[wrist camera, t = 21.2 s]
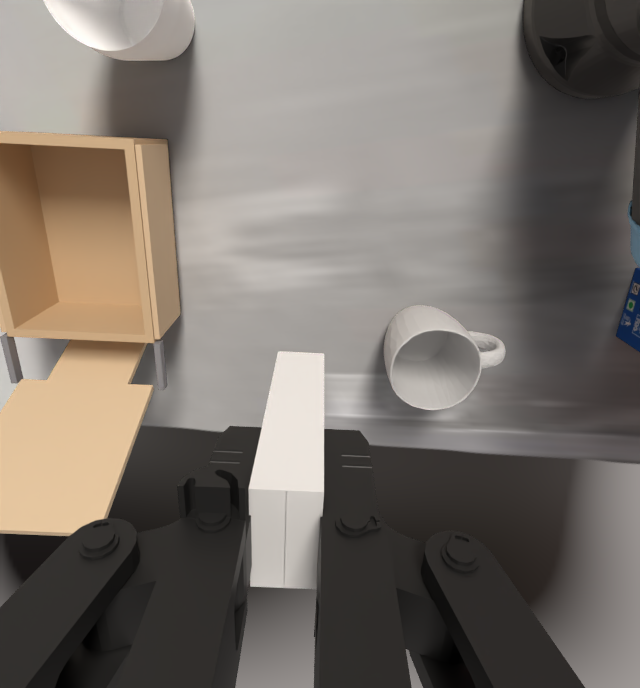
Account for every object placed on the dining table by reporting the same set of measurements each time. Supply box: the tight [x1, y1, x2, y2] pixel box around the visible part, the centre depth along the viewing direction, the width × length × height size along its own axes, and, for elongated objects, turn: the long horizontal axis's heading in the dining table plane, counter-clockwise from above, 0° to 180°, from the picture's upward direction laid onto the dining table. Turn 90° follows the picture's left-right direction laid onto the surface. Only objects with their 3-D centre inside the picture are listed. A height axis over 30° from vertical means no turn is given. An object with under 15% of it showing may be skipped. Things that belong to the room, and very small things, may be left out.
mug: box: [384, 305, 506, 410], centre depth 49 cm, size 13×9×10 cm
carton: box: [0, 131, 181, 390], centre depth 46 cm, size 23×15×9 cm, turn 177°
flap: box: [0, 339, 154, 536], centre depth 44 cm, size 22×13×1 cm
